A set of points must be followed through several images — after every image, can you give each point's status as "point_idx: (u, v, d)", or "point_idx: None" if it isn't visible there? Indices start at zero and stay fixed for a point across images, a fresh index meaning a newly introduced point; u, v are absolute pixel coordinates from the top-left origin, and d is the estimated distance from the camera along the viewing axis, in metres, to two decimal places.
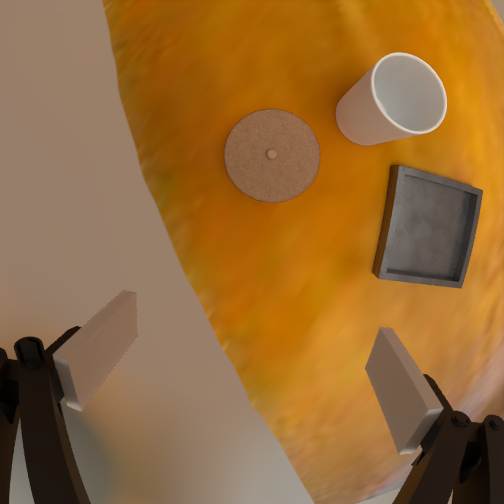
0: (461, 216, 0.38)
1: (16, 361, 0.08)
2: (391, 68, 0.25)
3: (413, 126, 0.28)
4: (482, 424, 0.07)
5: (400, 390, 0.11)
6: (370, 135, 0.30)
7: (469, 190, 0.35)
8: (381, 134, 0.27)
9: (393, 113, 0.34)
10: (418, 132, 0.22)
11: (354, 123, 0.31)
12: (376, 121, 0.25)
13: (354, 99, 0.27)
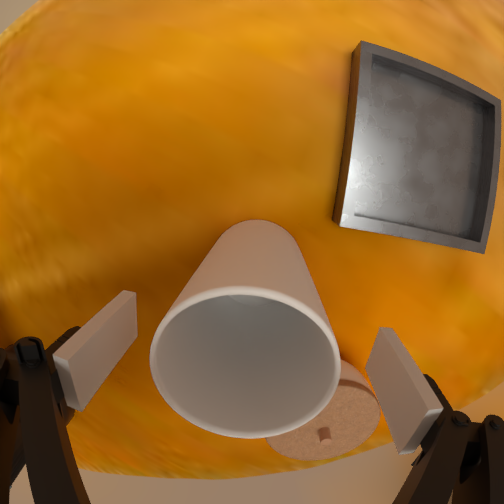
0: (404, 84, 0.21)
1: (16, 361, 0.08)
2: (180, 326, 0.16)
3: None
4: (482, 424, 0.07)
5: (400, 390, 0.11)
6: None
7: (368, 72, 0.19)
8: None
9: None
10: (338, 370, 0.11)
11: None
12: None
13: None
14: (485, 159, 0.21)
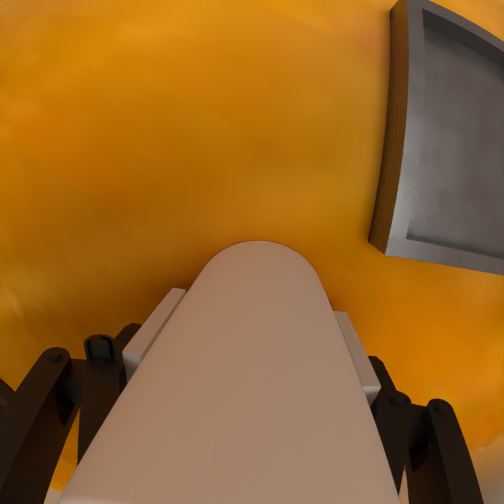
0: (460, 56, 0.13)
1: (78, 360, 0.10)
2: None
3: None
4: (426, 410, 0.09)
5: None
6: None
7: (419, 30, 0.11)
8: None
9: None
10: None
11: None
12: None
13: None
14: None
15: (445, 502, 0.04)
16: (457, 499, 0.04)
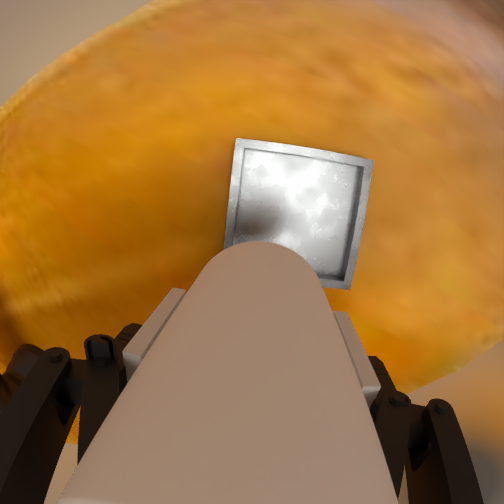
0: (277, 163, 0.34)
1: (78, 360, 0.10)
2: None
3: None
4: (426, 410, 0.09)
5: None
6: None
7: (239, 164, 0.33)
8: None
9: None
10: None
11: None
12: None
13: None
14: (354, 213, 0.35)
15: (445, 502, 0.04)
16: (457, 499, 0.04)
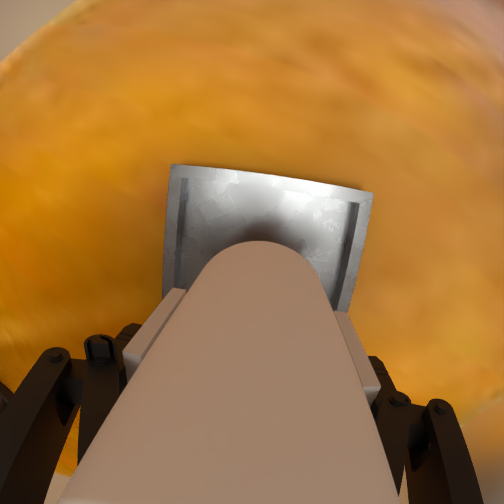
0: (232, 196, 0.25)
1: (78, 360, 0.10)
2: None
3: None
4: (426, 410, 0.09)
5: None
6: None
7: (175, 202, 0.23)
8: None
9: None
10: None
11: None
12: None
13: None
14: (342, 268, 0.25)
15: (445, 502, 0.04)
16: (457, 499, 0.04)
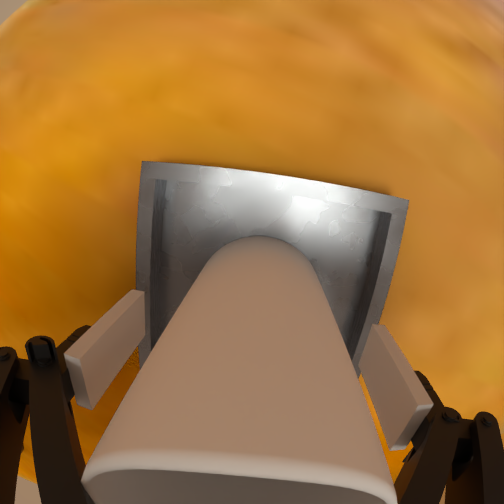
0: (224, 202, 0.19)
1: (26, 360, 0.08)
2: None
3: None
4: (473, 421, 0.07)
5: (391, 386, 0.11)
6: None
7: (148, 211, 0.17)
8: None
9: None
10: None
11: None
12: None
13: None
14: (364, 295, 0.19)
15: None
16: None
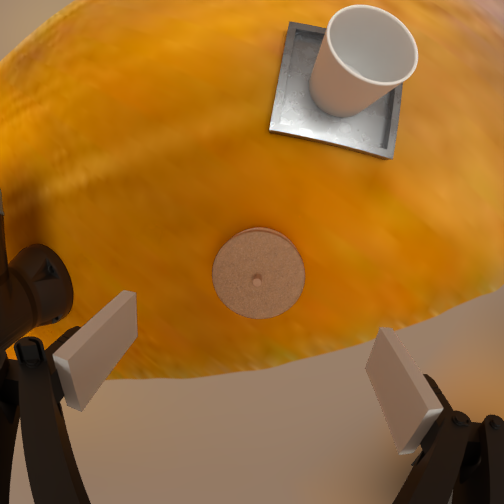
0: None
1: (16, 361, 0.08)
2: None
3: (376, 43, 0.23)
4: (482, 424, 0.07)
5: (400, 390, 0.11)
6: None
7: (291, 39, 0.31)
8: None
9: (337, 57, 0.30)
10: (416, 48, 0.18)
11: (371, 103, 0.28)
12: (397, 85, 0.22)
13: (359, 100, 0.25)
14: (391, 93, 0.32)
15: None
16: None
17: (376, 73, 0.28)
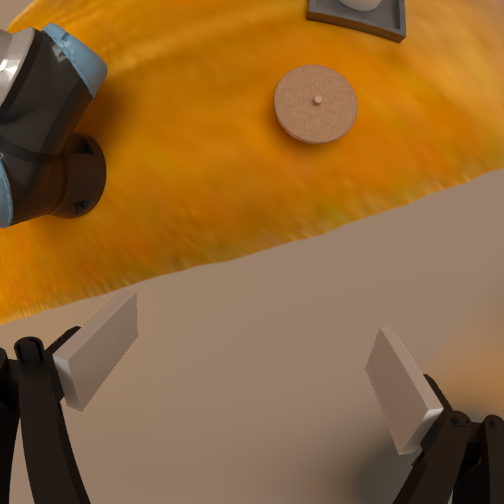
0: None
1: (16, 361, 0.08)
2: None
3: None
4: (482, 424, 0.07)
5: (400, 390, 0.11)
6: None
7: None
8: None
9: None
10: None
11: None
12: None
13: None
14: None
15: None
16: None
17: None
